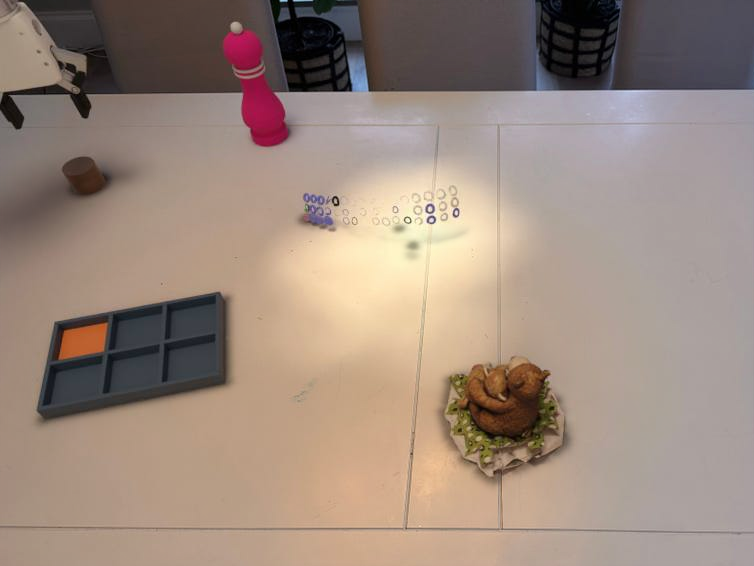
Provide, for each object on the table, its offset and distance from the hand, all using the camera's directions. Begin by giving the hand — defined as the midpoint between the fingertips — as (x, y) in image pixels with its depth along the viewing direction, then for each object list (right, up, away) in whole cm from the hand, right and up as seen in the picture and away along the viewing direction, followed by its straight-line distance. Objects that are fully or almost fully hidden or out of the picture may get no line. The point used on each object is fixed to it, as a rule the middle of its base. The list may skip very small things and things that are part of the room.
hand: (54, 119), depth 102 cm
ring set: (+49, -17, +1) cm, 52 cm away
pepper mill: (+28, +3, +17) cm, 33 cm away
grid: (+20, -36, -13) cm, 43 cm away
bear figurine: (+67, -43, -20) cm, 83 cm away
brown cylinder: (0, -8, +10) cm, 13 cm away
